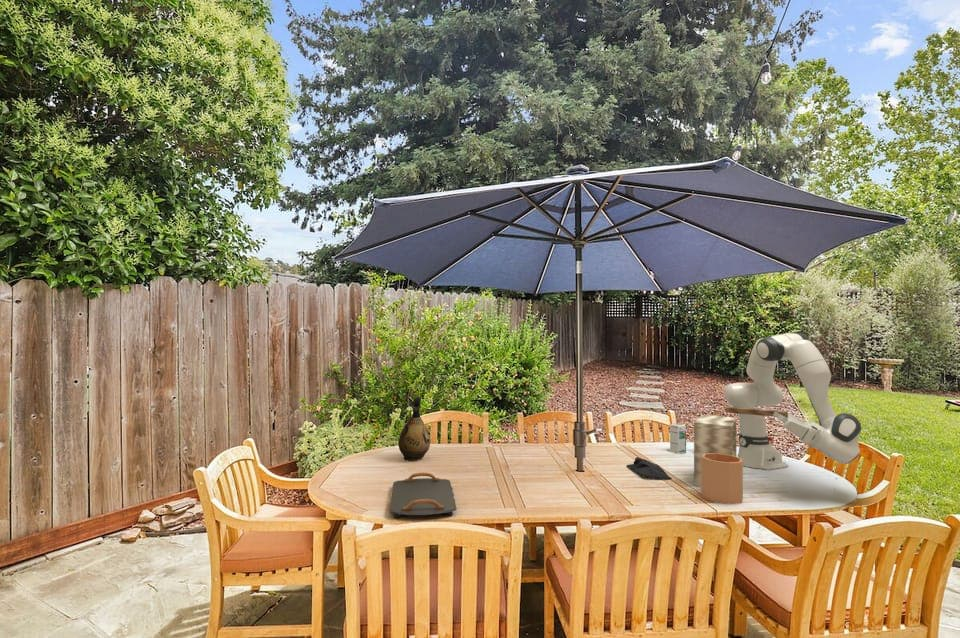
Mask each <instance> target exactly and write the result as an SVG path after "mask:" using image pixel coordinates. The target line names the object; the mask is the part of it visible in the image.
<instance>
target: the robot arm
mask: <svg viewBox="0 0 960 638" xmlns="http://www.w3.org/2000/svg"><path fill="white" fill-rule="evenodd" d="M785 360H788V361H789V362H791V363H792V366H793V368H794V370H795V372H796V374H797V376H798V378H799V380H800V381H801V383H802V385H803V387H804V390H805V392H806V394H807V397H808V399H809V401H810V404H811V406H812V408H813V410H814V413H815V415H816V417H817V420H818V423H819V424H818V423H816V422H815V421H810V422H809V421H806V420H805V421H804V420H803V419H801V418H799V417H798V416H796V415H794V414H792V413H790V412H788V417H787V418H786V417H785V416H782V415H781V414H779V413H777V412H774V413H773V416H775V418H776V419H778V420H779V421H780V422H782V423H783V427H784V428H785V429H786V430H787V431H789V432H790V433H792V434H793V436H794V435H795V437H797V438H798V440H799V441H801V443H803V444H805V445H807V446H808V447H811V448H812V449H816V450H817V451H819V452H820V453H821V454H822V455H824V456H825V457H828V458H829V459H830V460H831V459H832V460H833V461H835V462H837V463H840V464H843V465H847V464H850V463H852V462H853V461H855V460H856V459H857V458H858V456H859V455H860V453H861V449H860V446H859V445H860V444H859V439H860V434H861V431H862V424H861V422H860V420H859V419H858V418H857V417H855V416H854V415H853V414H851V413H846V412H845V413H844V412H843V413H838V414H836V412H835V410H834V408H833V405H832V403H831V401H830V400H829V399H830V398H829V395H828V394H829V393H828V391H829V387H830V383H831V379H832V373H831V370H830V367H829V365H828V363H827V361H826V360H825V358H824V356H823V355H822V354H821V352H820V350H819V349H818V348H817V346H816V345H815V344H814V343H813V342H812V341H810V338H809V337H808V336H807V335H806V334H804V333H802V332H792V333H789V332H788V333H780V334H775V335H773V336H766V337H763V338H759V339H758V340H756V342H755V344H754V345H753V347H752V349H751V353H750V355H749V358H748V363H747V365H746V374H747V376H748V377H749V378H750V379H751V380H753V381H754V382H734V383H729V384H727V385H726V386H725V389H724V390H723V391H724V392H723V396H724V398H725V399H724V400H726V402H727V403H728V404H730V405H731V407H741V408H753V409H755V407H772V406H777V405H779V404H780V403H782V401H783V398H784V394H783V391H782V389H781V387H780V386H779V384H776V382H775V380H774V375H775V370H776V366H777V363H778V361H785ZM737 416H738V418H739V419H738V420H739V433H738V442H739V447H738V454H737V457H739V458H742V459H743V467H747V468H751V469H752V468H753V469H761V470H765V471H769V470H775V469H781V468H787V467H789V464H788V463H786V462H785V461H783V456H782V454H781V453H782V452H780V451H779V450H778V449H777V448H775V447H774V446H773V445H772V444H770V442H774V441H775V438H774V437H773V436H771V435H770V436H767V420H766V419H765V416H762V415H750V414H738V413H737ZM773 416H772V417H773Z"/></svg>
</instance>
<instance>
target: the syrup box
mask: <svg viewBox="0 0 960 638" xmlns="http://www.w3.org/2000/svg"><path fill="white" fill-rule="evenodd" d="M670 451H671V453H673V452H674V453H673V454H677V453H678V455H679V453H681V454H685V453H687V426H686V425H685V424H683V423H673V424H672V423H671V424H669V452H670Z"/></svg>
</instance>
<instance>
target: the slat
mask: <svg viewBox="0 0 960 638" xmlns="http://www.w3.org/2000/svg"><path fill="white" fill-rule="evenodd" d="M774 412H777V413H779V414H781V415H782V416H785V417H786V418H787V417H788V413H789V411H788V410H780V409H779V410H778V409H763V408H754V409H753V408H741V407H733V406H726V407H725V413H726V414H728V413H729V414H737V415H738V414H750V415H761V416H763V417H773V418H774V417H775V416H773V413H774ZM775 418H776V417H775Z"/></svg>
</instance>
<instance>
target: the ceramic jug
mask: <svg viewBox="0 0 960 638" xmlns="http://www.w3.org/2000/svg"><path fill="white" fill-rule="evenodd" d="M414 398H415V399H414V400H413V401H411V402H410V408H411V409H413V410H412V414H411V417H410V418H409V419H408V421H407V422H406V424H405V425H404V426H403V427H402V430H401V432H400V434H399V438H398V450H399V451H400V453H401V454H402V455H403V460H404V459H405V460H404V461H407V460H408V461H407V462H418V461H417V460H420V461H422V460H423V459H424V456H425V455H426V454H427V453H428V452H429V450H430V446H431V435H430V433H429V430H428V428H427V426H426V423H425V422H424V421H423V419H422V418H421V416H420V415H421V414H420V411H421V410H420V409H421V401H422V397H421V396H418V395H417V396H416V397H414ZM422 458H423V459H422ZM421 459H422V460H421Z"/></svg>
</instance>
